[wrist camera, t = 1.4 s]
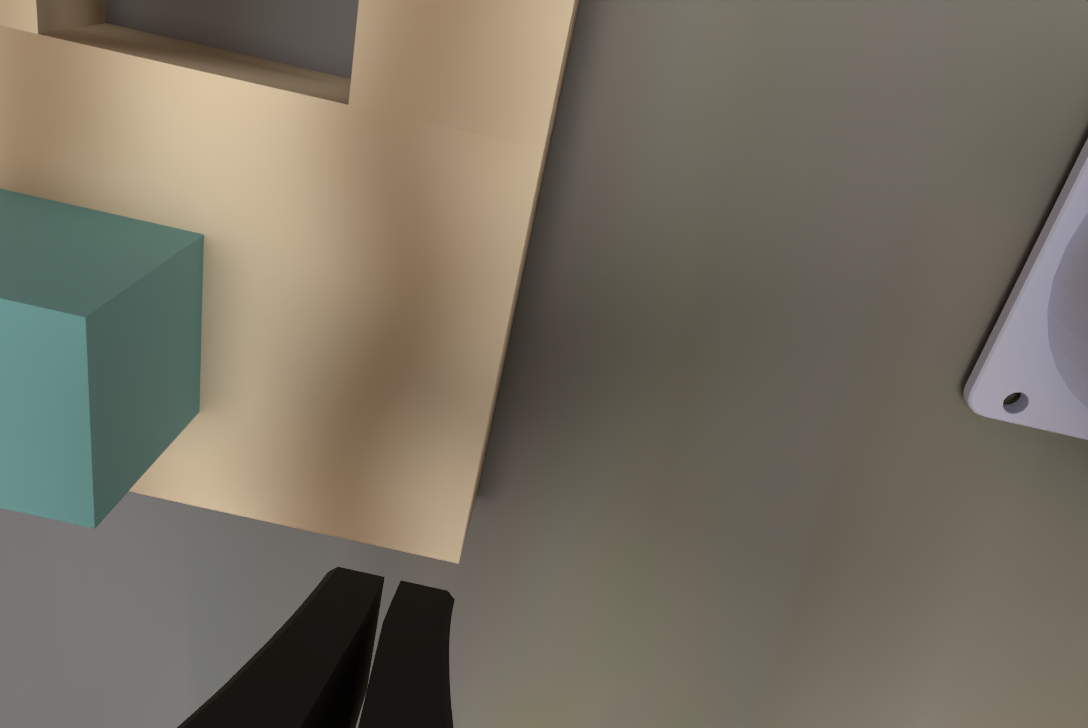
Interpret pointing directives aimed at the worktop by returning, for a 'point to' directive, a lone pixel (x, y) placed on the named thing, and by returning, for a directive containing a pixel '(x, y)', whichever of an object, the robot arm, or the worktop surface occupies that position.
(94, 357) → the block
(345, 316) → the board
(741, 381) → the worktop surface
